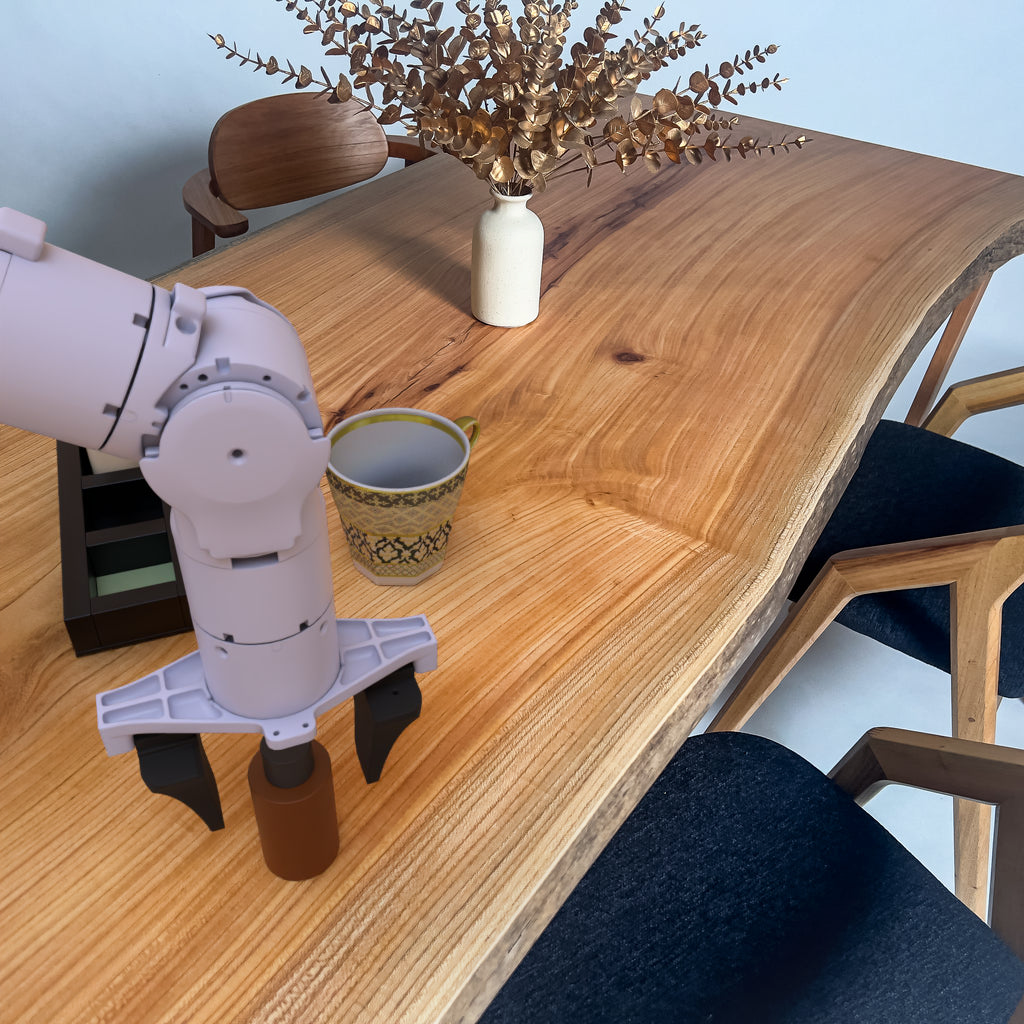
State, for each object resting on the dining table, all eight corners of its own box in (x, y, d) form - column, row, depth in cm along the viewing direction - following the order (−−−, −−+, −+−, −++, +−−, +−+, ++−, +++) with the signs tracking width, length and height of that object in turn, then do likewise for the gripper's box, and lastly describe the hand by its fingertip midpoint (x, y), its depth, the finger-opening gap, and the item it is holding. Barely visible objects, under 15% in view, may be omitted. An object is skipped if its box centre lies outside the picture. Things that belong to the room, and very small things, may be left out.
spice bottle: (265, 888, 47) (243, 785, 41) (261, 821, 50) (240, 716, 44) (343, 872, 48) (332, 769, 42) (335, 807, 51) (324, 703, 45)
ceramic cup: (393, 625, 62) (389, 511, 56) (303, 555, 67) (290, 443, 61) (521, 541, 70) (530, 432, 63) (431, 483, 75) (432, 377, 68)
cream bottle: (94, 500, 70) (65, 399, 64) (99, 469, 73) (72, 371, 67) (149, 494, 71) (125, 395, 65) (152, 465, 74) (129, 367, 68)
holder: (76, 658, 58) (63, 620, 56) (66, 466, 74) (55, 431, 71) (212, 627, 61) (204, 590, 59) (174, 448, 76) (167, 414, 74)
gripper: (74, 716, 32) (149, 911, 40) (462, 618, 37) (456, 811, 45) (67, 585, 37) (135, 783, 45) (410, 514, 42) (413, 705, 50)
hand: (293, 789), depth 45 cm, fingers open, 7 cm apart
